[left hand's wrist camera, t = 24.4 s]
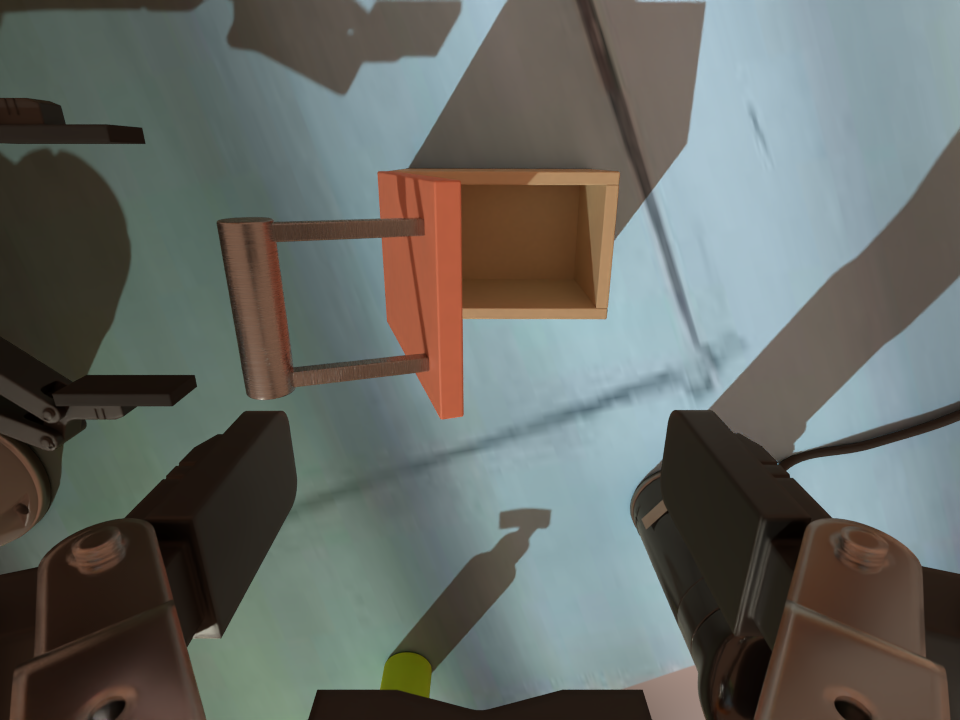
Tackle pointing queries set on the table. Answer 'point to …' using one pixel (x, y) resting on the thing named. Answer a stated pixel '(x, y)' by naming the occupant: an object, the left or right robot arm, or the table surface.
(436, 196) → the lid
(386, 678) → the soap dispenser
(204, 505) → the left robot arm
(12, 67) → the table surface
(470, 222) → the chest
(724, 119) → the table surface
